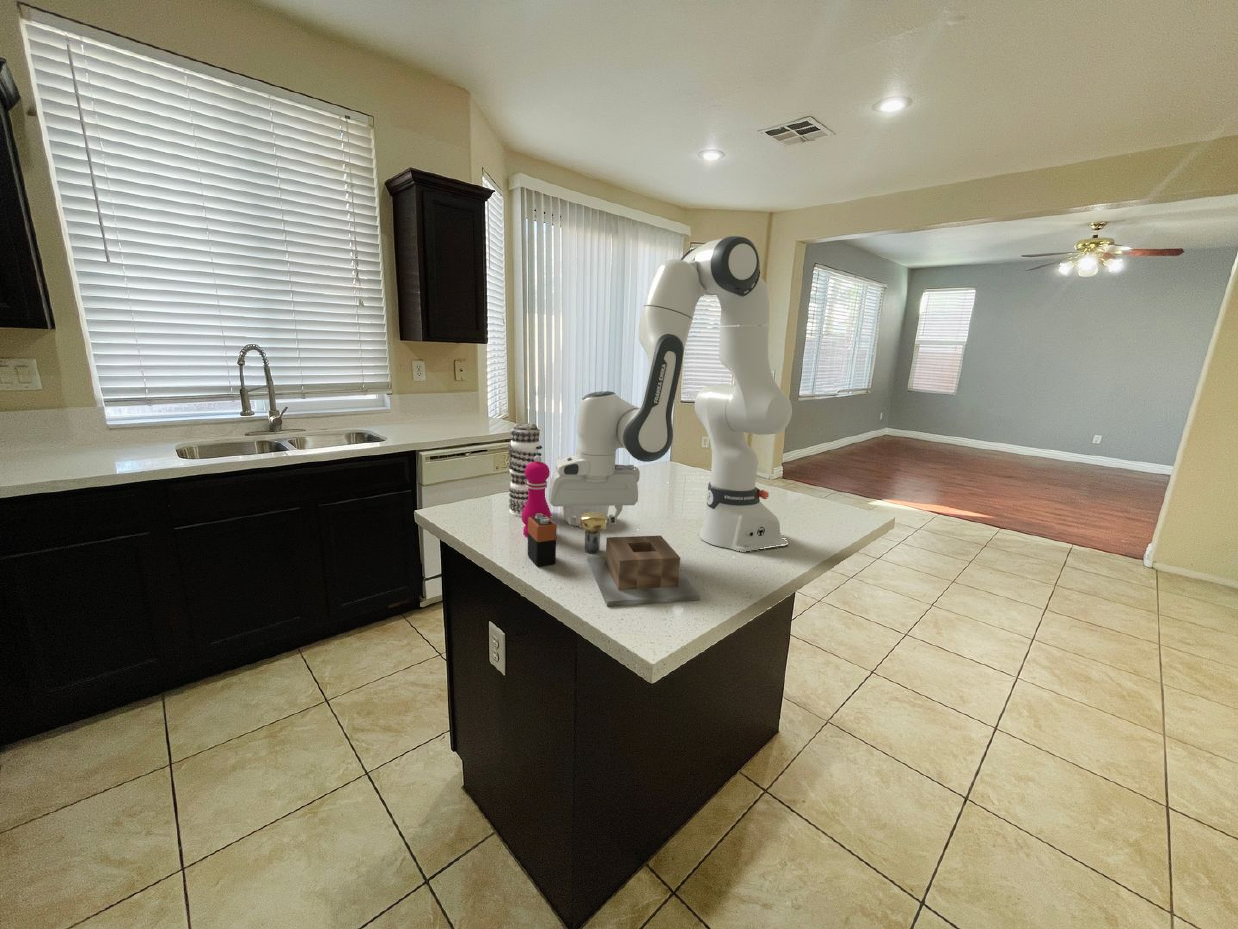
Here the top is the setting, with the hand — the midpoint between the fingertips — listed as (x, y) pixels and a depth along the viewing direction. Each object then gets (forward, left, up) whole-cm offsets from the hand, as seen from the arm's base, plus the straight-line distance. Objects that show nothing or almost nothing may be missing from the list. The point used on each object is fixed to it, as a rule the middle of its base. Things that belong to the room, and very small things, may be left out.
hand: (592, 523), depth 112 cm
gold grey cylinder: (0, 0, -7) cm, 7 cm away
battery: (+12, +4, -7) cm, 14 cm away
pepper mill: (+12, -12, -7) cm, 18 cm away
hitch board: (-7, +16, -7) cm, 19 cm away
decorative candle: (+14, -30, -7) cm, 34 cm away
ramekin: (-2, -21, -7) cm, 22 cm away
